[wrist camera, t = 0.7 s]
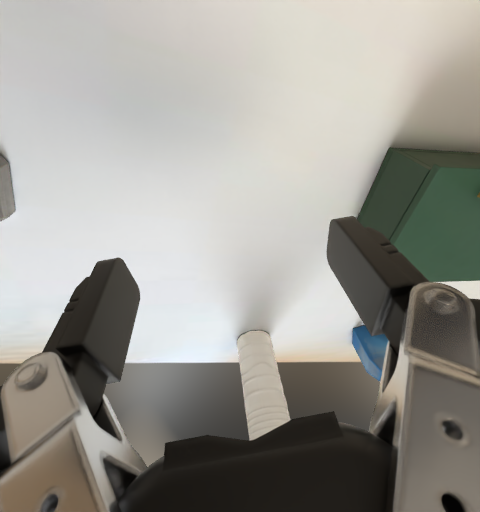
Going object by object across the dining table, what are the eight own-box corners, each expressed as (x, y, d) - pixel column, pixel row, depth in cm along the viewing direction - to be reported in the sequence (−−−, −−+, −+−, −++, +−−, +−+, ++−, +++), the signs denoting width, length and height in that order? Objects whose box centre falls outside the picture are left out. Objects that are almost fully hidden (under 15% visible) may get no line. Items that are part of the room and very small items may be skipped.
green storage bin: (389, 147, 27) (429, 169, 22) (512, 154, 29) (572, 176, 25) (344, 247, 36) (366, 279, 31) (442, 247, 38) (476, 276, 33)
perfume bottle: (381, 336, 54) (418, 396, 45) (352, 343, 54) (383, 404, 45) (384, 320, 50) (426, 382, 40) (353, 328, 50) (387, 392, 41)
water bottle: (235, 349, 50) (258, 539, 31) (238, 330, 45) (266, 536, 27) (277, 346, 51) (325, 526, 32) (284, 328, 47) (343, 521, 28)
